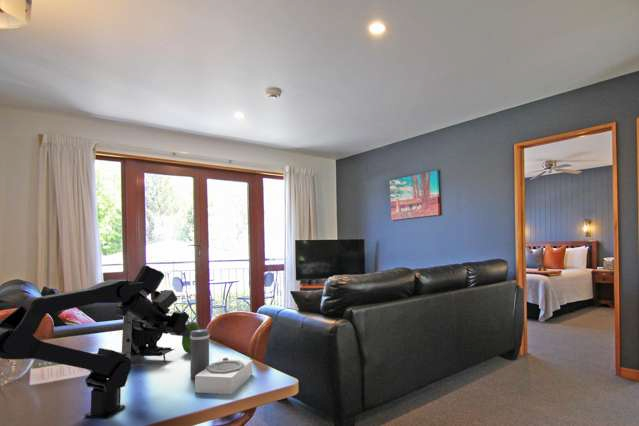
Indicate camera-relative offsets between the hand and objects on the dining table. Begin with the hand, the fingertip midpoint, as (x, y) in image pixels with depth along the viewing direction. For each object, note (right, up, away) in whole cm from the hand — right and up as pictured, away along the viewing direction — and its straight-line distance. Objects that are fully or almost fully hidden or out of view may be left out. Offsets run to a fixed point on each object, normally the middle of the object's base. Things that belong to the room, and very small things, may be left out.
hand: (178, 333), depth 115 cm
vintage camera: (-19, -17, +21) cm, 33 cm away
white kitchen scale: (+15, -14, -2) cm, 21 cm away
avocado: (-6, -17, +30) cm, 35 cm away
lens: (+5, -15, +4) cm, 16 cm away
